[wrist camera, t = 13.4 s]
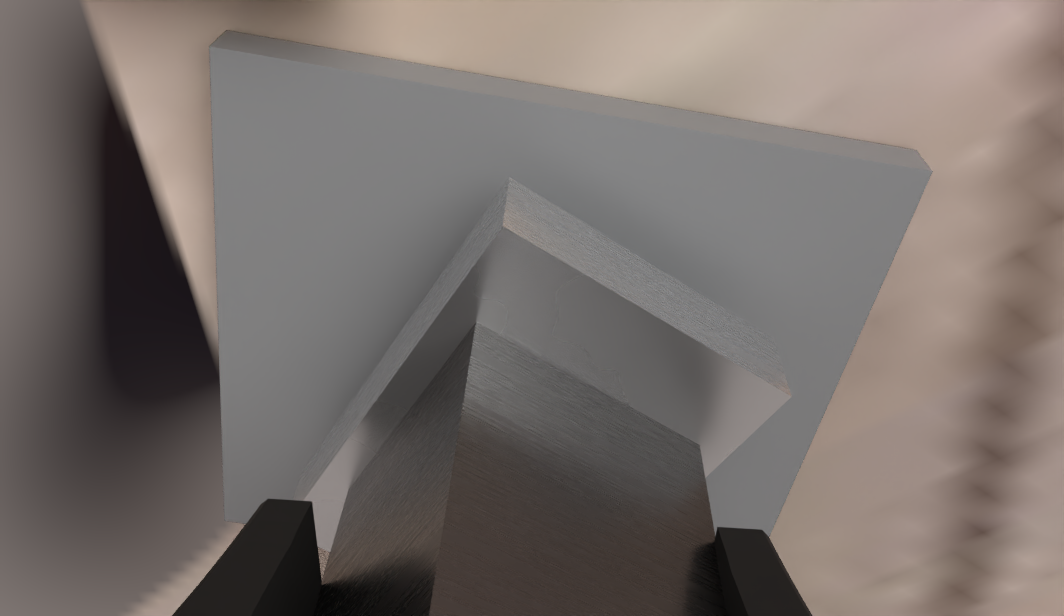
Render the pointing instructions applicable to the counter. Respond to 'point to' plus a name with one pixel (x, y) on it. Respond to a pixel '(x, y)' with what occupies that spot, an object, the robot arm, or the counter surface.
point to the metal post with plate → (540, 435)
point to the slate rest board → (463, 197)
